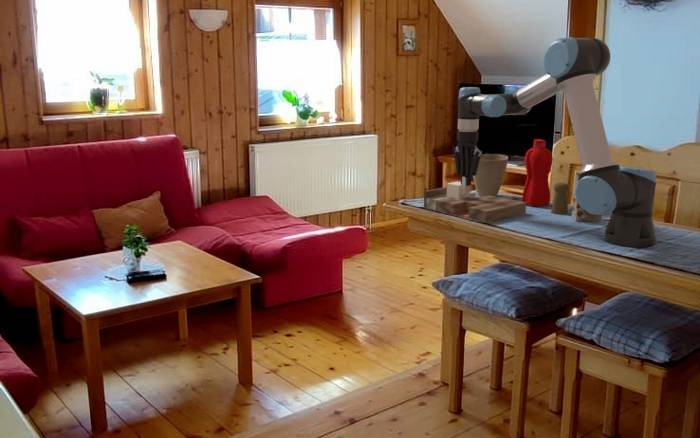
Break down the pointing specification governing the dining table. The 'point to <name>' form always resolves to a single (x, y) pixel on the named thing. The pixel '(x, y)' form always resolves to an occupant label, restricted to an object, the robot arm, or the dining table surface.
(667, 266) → the dining table surface
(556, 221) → the dining table surface
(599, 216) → the coffee box
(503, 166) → the plant pot
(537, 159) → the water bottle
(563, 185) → the cork
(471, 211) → the wooden board
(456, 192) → the block
